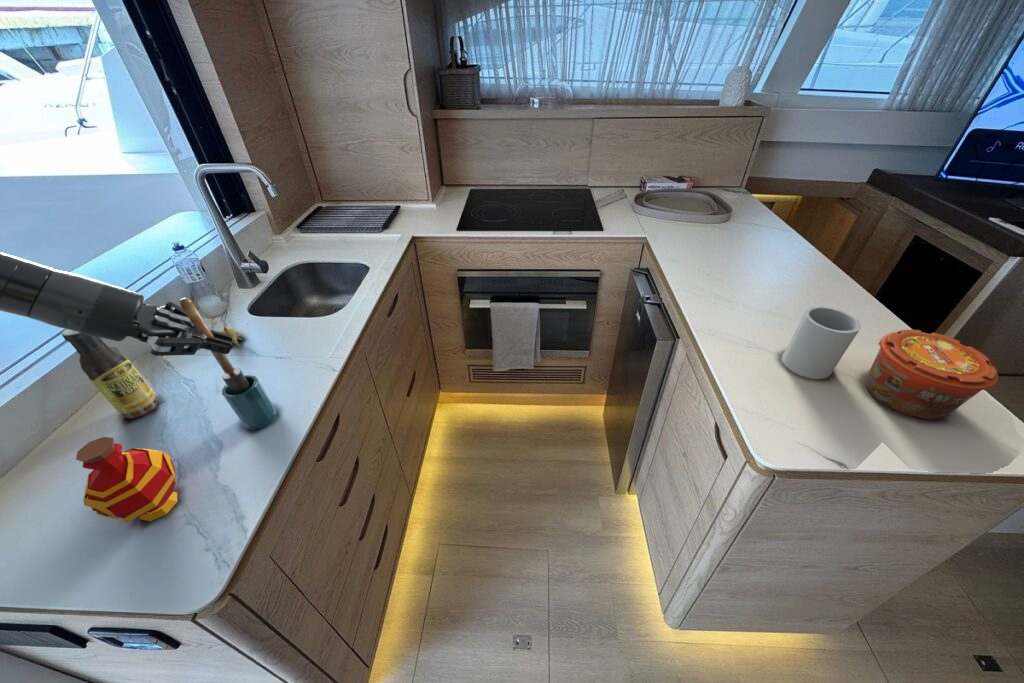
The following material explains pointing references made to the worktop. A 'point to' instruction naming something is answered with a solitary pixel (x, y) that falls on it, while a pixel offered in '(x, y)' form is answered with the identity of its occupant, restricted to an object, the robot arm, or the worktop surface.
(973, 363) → the food container
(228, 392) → the teal cylindrical holder
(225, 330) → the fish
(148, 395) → the sauce bottle
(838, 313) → the cup
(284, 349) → the worktop surface
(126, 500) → the potion bottle
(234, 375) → the stick grenade
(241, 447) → the worktop surface
